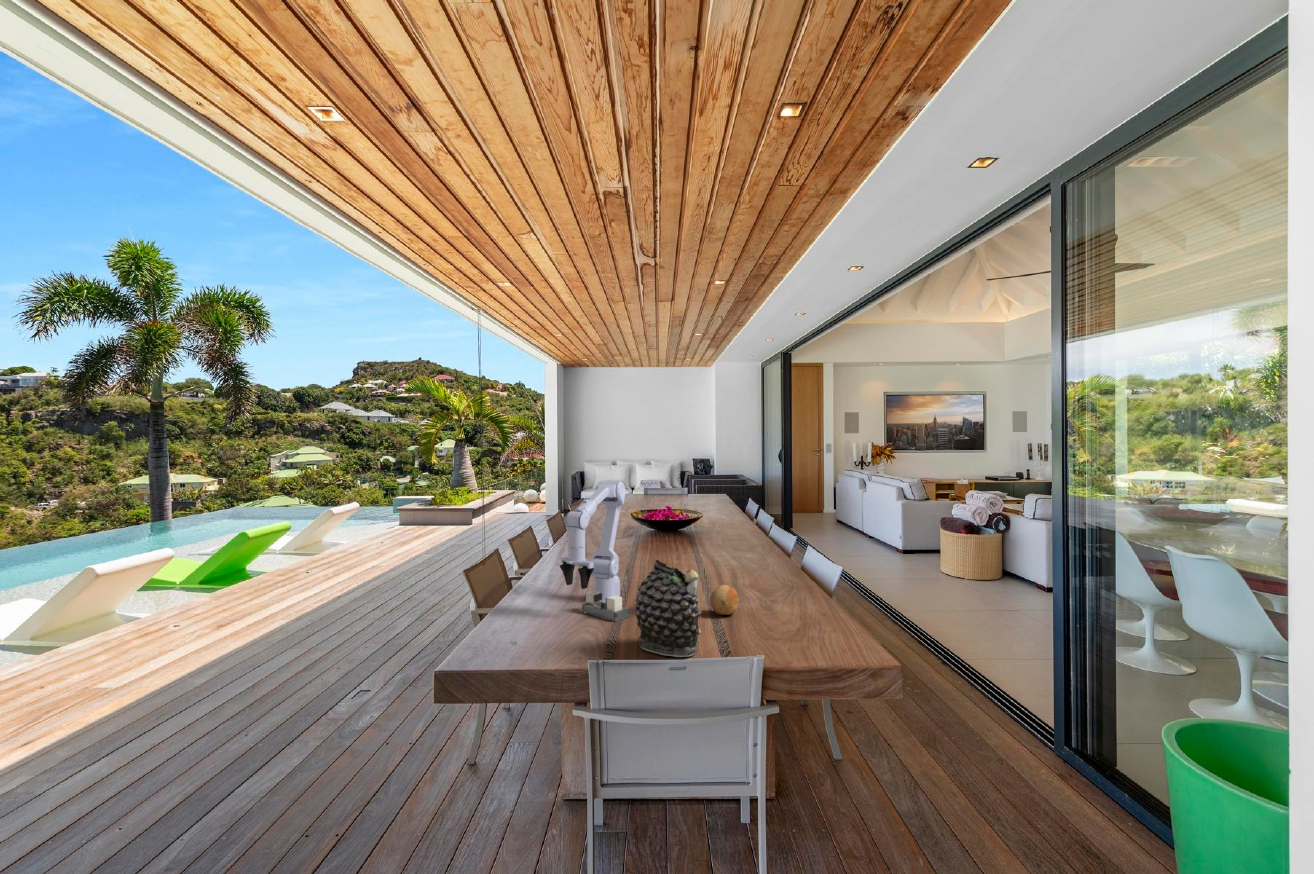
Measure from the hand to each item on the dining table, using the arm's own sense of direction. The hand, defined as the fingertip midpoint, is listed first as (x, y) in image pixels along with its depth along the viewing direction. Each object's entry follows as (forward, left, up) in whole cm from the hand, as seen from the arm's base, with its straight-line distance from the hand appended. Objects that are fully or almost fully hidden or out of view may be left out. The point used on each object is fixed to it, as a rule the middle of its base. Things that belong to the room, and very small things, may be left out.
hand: (576, 586), depth 202 cm
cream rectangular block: (-6, +12, -8) cm, 16 cm away
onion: (-32, +39, -10) cm, 51 cm away
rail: (-6, +8, -9) cm, 14 cm away
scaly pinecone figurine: (+6, +45, -10) cm, 46 cm away
